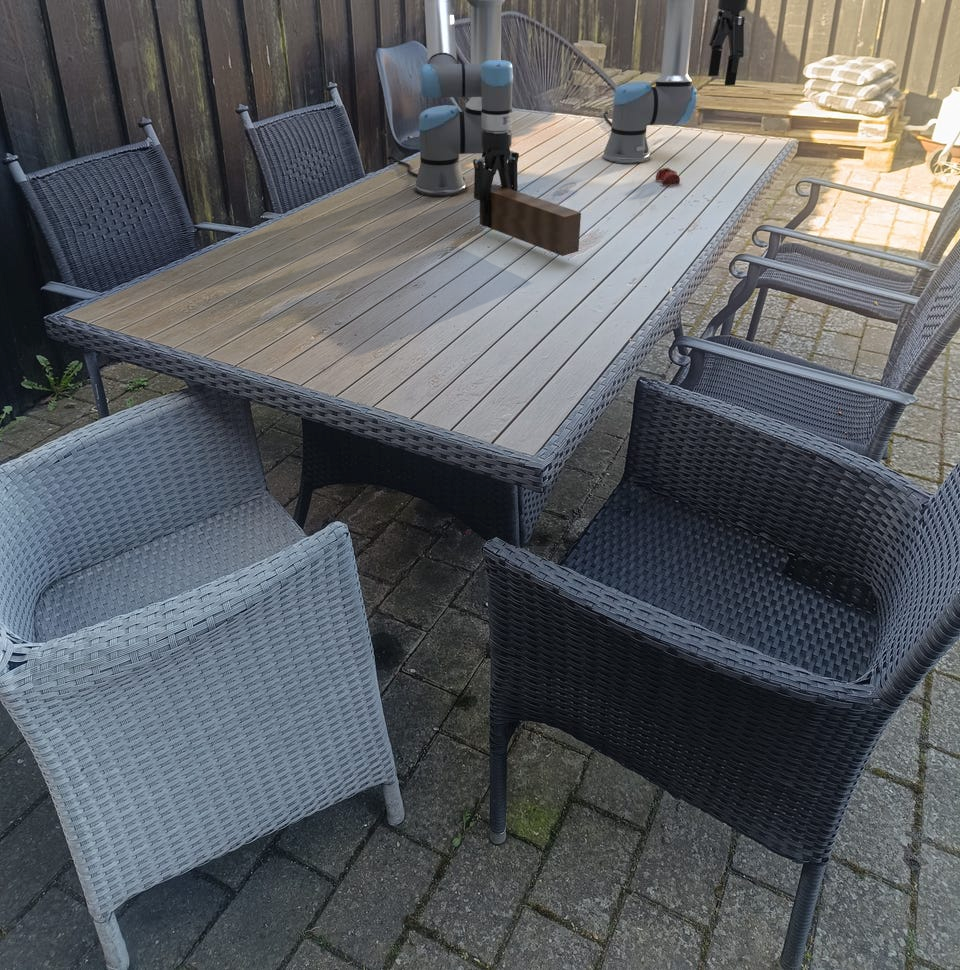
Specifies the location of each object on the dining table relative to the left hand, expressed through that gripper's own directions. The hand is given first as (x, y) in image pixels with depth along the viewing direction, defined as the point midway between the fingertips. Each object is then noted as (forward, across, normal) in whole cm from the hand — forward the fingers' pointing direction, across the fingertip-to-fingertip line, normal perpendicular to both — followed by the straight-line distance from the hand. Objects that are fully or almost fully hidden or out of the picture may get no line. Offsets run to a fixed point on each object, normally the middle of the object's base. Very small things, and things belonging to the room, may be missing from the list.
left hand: (495, 223), depth 222 cm
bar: (+1, 0, -12) cm, 12 cm away
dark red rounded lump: (+3, +74, +3) cm, 74 cm away
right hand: (-28, +72, -13) cm, 78 cm away
